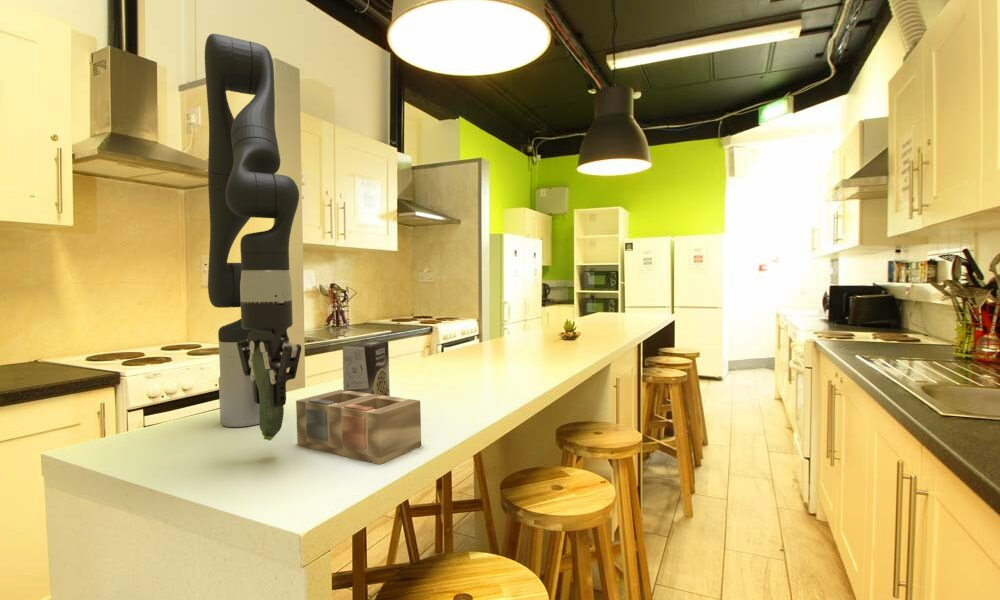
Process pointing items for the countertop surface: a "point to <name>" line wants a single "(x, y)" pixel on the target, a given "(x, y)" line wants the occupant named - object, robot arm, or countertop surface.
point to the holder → (359, 425)
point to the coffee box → (366, 367)
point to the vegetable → (266, 398)
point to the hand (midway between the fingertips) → (270, 403)
